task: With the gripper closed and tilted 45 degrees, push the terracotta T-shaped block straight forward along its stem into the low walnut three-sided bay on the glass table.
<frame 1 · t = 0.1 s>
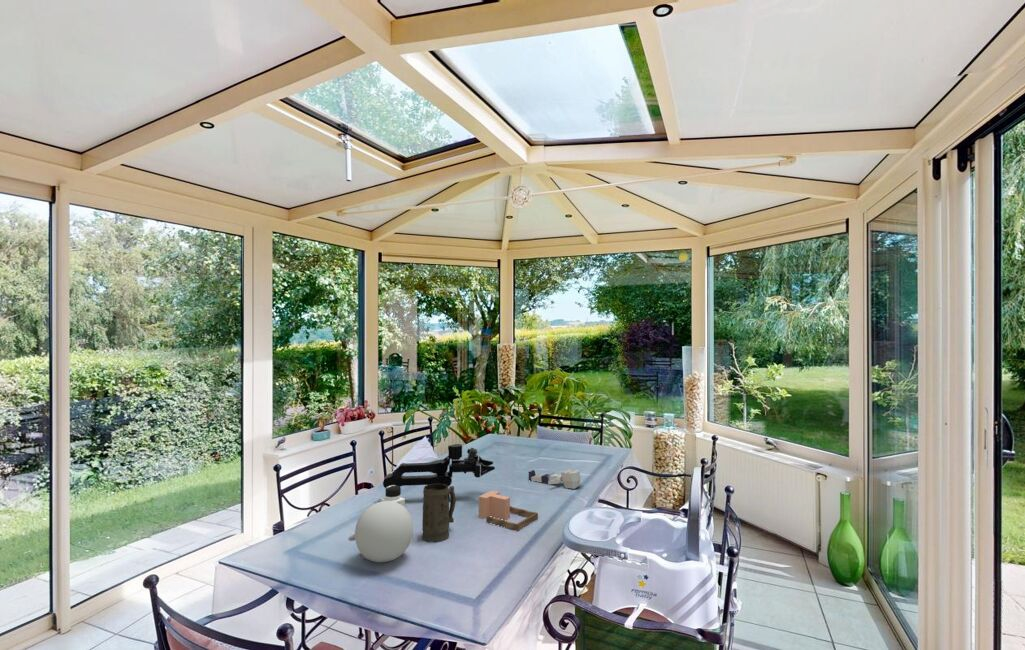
hand: (493, 465, 226), 17 cm above the table, tool horizontal, fingers open, 9 cm apart
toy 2: (384, 560, 164), on the table
beer stein: (439, 534, 185), on the table
toy: (553, 485, 250), on the table
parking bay: (512, 520, 199), on the table
container: (392, 516, 204), on the table
t block: (496, 516, 204), on the table
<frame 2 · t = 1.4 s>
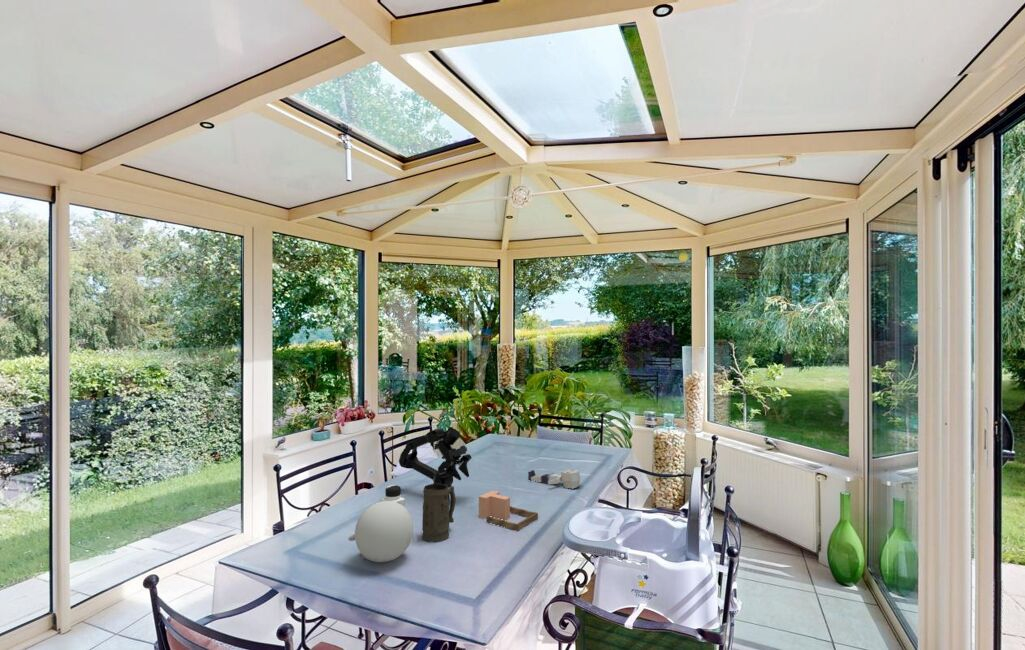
hand: (464, 478, 215), 14 cm above the table, tool tilted 45°, fingers open, 5 cm apart
nothing on the table moved.
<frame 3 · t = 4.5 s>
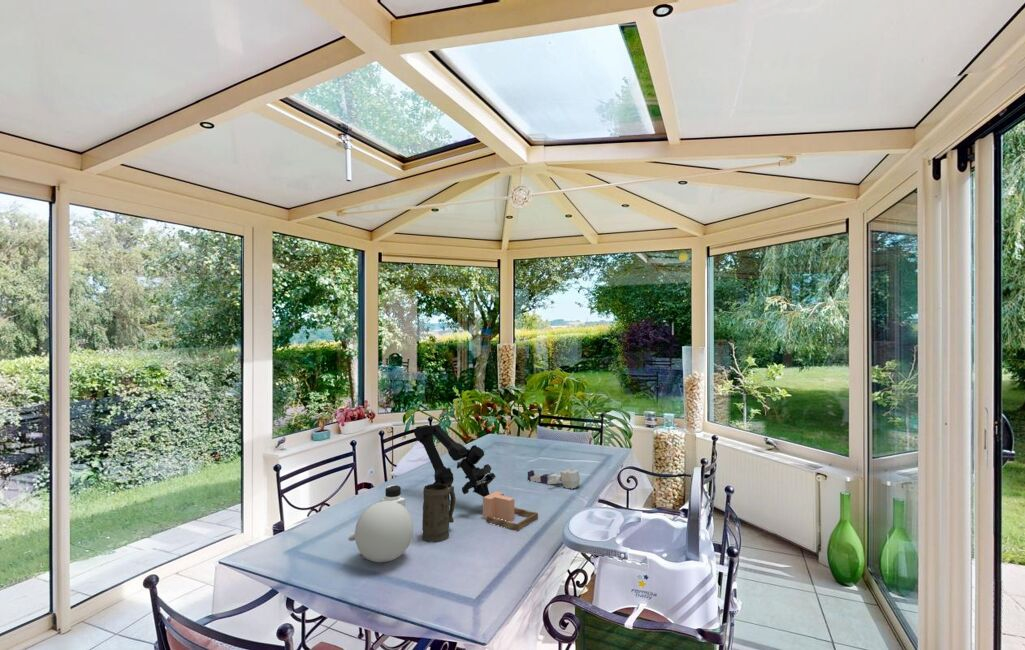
hand: (489, 498, 207), 7 cm above the table, tool tilted 45°, fingers closed, pressing on t block
t block: (500, 517, 203), on the table, touching gripper
everything else where it was.
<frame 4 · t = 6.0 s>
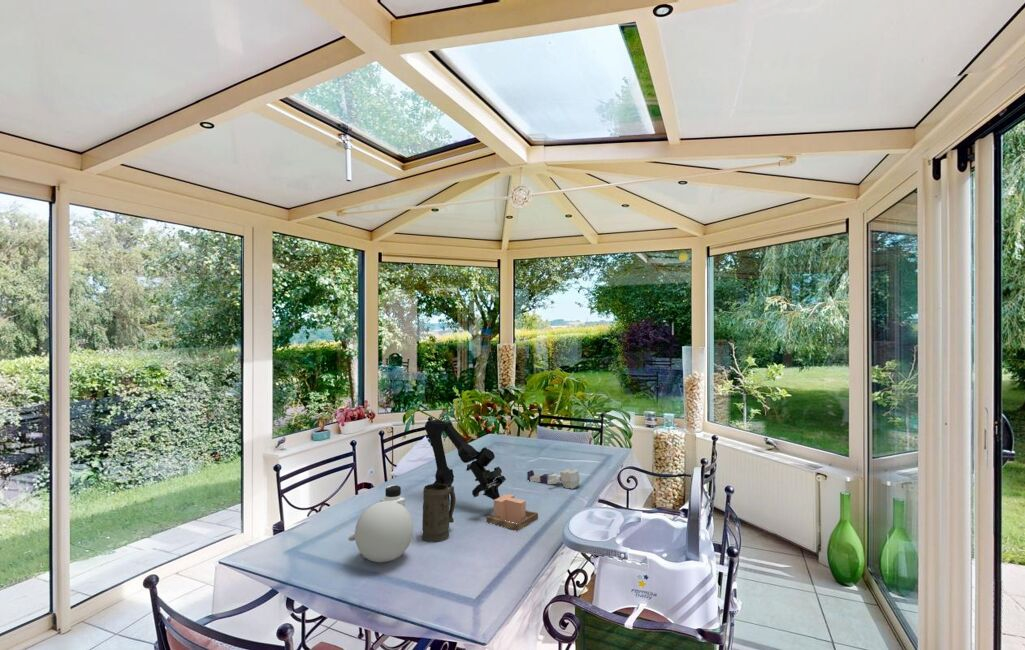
hand: (500, 502, 203), 7 cm above the table, tool tilted 45°, fingers closed, pressing on t block
t block: (511, 520, 200), on the table, touching gripper
everything else where it was.
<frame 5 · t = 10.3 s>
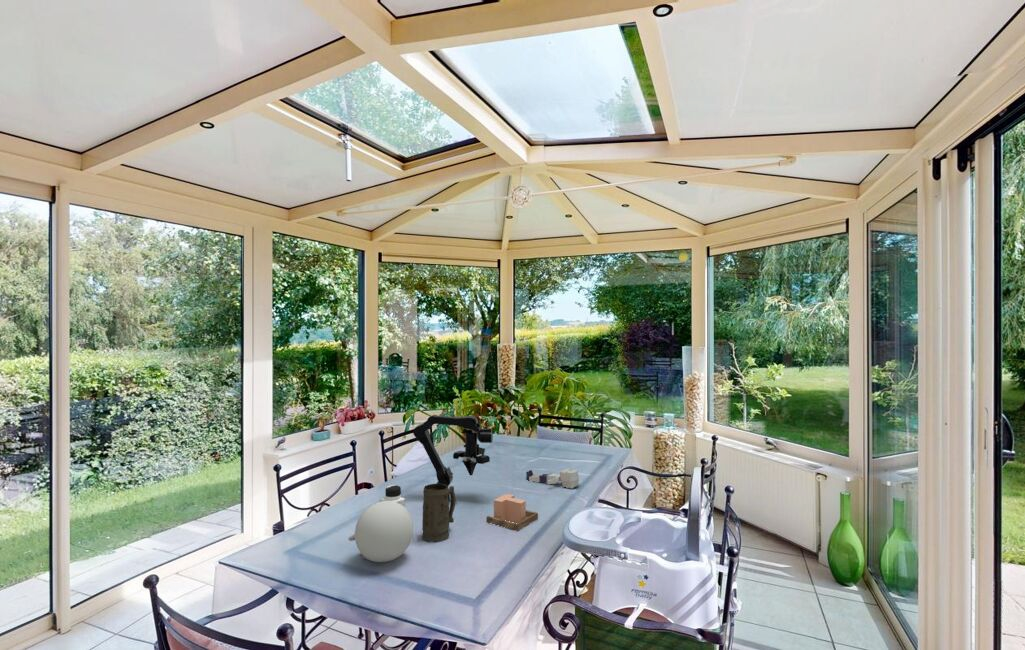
hand: (471, 475, 222), 13 cm above the table, tool pointing down, fingers closed
t block: (511, 520, 200), on the table
at the end: t block 0.4 cm from the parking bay (horizontally); t block tilted 0° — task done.
